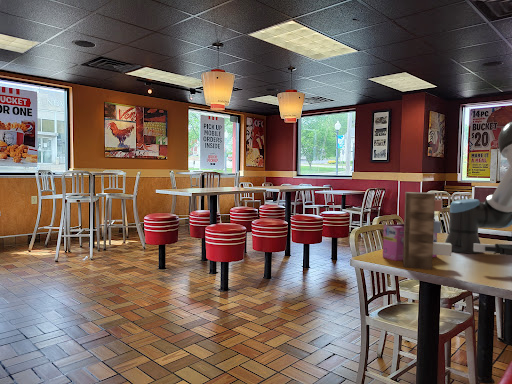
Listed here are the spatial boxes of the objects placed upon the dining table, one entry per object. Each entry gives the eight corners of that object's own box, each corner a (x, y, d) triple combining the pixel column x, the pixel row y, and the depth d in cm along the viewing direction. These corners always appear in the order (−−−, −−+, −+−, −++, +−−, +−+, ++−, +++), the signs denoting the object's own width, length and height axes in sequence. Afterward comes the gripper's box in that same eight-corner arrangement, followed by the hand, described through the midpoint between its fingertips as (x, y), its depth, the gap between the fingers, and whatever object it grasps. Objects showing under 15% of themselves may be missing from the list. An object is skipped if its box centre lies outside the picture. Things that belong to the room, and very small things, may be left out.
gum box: (424, 253, 168) (425, 222, 167) (439, 257, 160) (440, 224, 160) (381, 257, 158) (383, 224, 157) (396, 261, 151) (397, 227, 150)
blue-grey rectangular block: (439, 231, 143) (439, 221, 143) (440, 233, 139) (441, 222, 139) (413, 230, 146) (413, 219, 145) (413, 231, 142) (414, 220, 142)
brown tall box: (429, 263, 147) (432, 192, 146) (431, 269, 138) (435, 193, 136) (402, 261, 150) (405, 191, 149) (403, 267, 141) (406, 193, 139)
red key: (440, 210, 142) (440, 199, 142) (441, 211, 139) (441, 200, 138) (414, 209, 145) (414, 198, 145) (414, 210, 142) (415, 199, 141)
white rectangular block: (449, 253, 142) (450, 243, 142) (451, 255, 138) (451, 244, 138) (423, 251, 145) (423, 241, 145) (424, 253, 141) (424, 243, 141)
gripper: (560, 267, 123) (477, 261, 131) (544, 259, 136) (469, 254, 143) (561, 244, 123) (478, 239, 131) (545, 238, 135) (470, 234, 143)
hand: (474, 247), depth 137 cm, fingers closed
